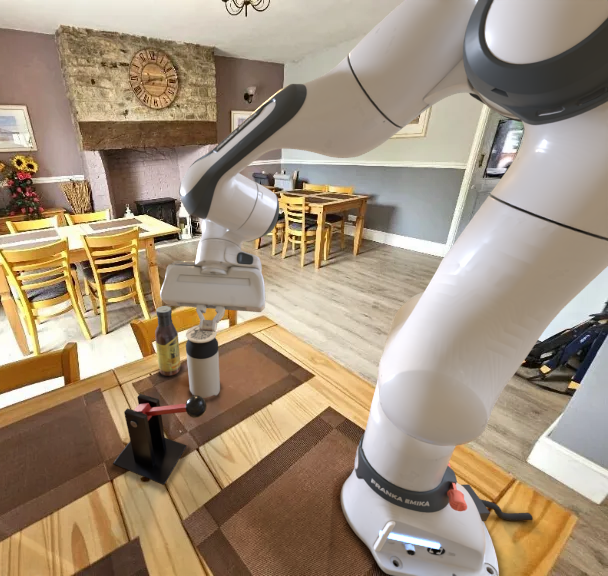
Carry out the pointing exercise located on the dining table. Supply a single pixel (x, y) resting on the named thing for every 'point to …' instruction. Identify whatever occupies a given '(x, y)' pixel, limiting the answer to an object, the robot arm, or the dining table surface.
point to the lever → (176, 408)
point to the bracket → (149, 445)
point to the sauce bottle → (167, 342)
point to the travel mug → (203, 362)
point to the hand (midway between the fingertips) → (207, 330)
